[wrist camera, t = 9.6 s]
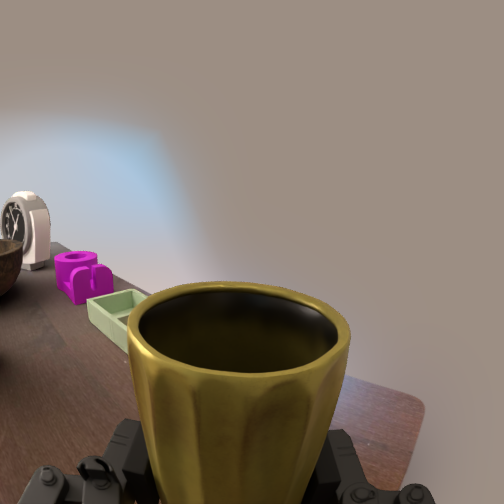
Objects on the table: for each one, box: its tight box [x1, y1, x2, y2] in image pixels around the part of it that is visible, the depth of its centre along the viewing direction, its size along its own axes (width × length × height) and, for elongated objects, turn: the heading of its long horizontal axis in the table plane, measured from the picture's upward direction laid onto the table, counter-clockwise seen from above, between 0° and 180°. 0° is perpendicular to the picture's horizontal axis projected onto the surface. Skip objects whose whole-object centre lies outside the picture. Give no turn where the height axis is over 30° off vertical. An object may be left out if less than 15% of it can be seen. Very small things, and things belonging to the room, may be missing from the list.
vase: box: [127, 281, 351, 504], centre depth 8 cm, size 6×6×14 cm
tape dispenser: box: [54, 251, 114, 305], centre depth 53 cm, size 16×10×6 cm, turn 50°
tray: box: [86, 288, 148, 354], centre depth 37 cm, size 26×9×4 cm, turn 53°
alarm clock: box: [0, 191, 51, 271], centre depth 61 cm, size 18×8×20 cm, turn 80°
